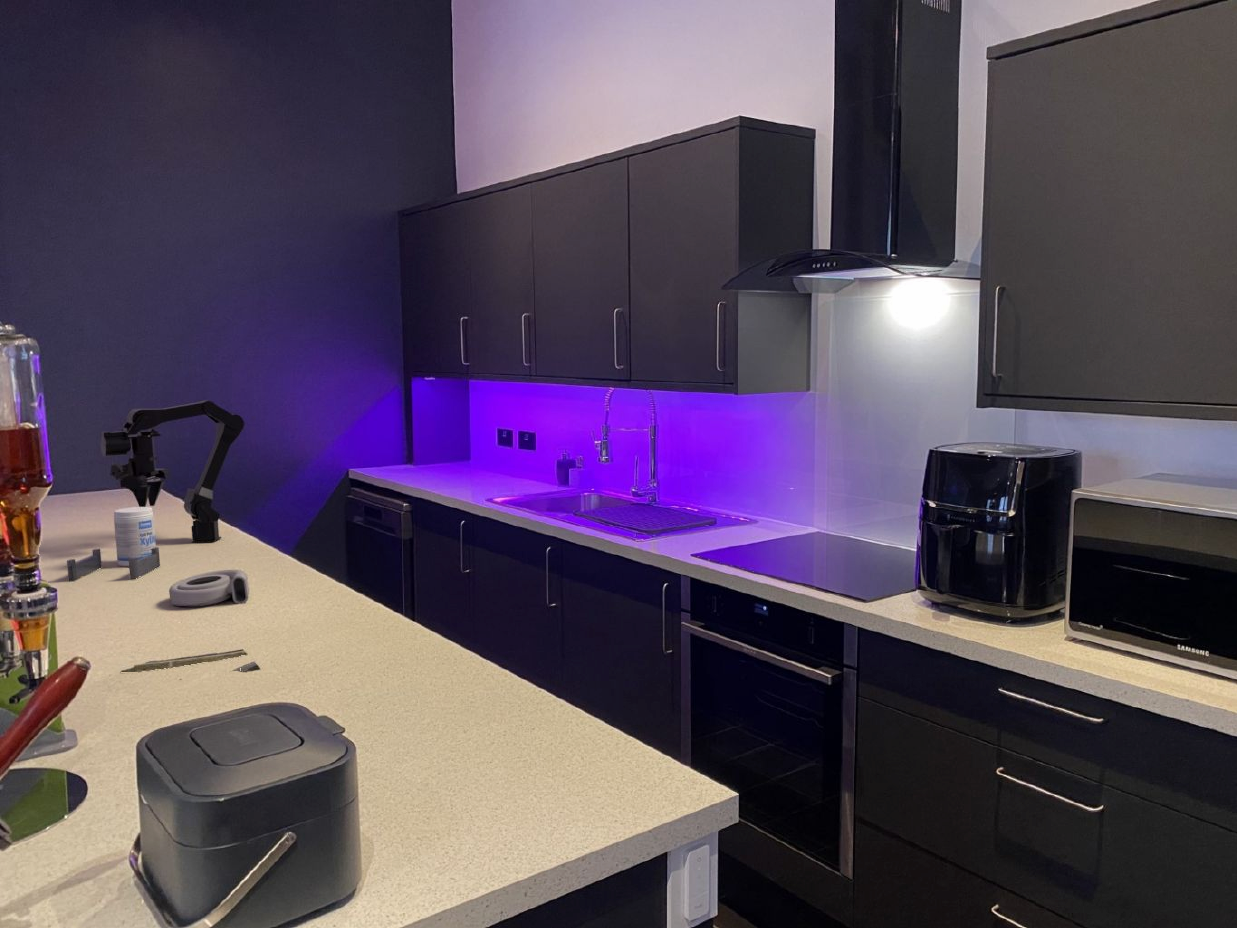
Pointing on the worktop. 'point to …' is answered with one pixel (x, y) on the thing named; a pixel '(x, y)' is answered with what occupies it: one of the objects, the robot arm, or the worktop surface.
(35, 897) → the worktop surface
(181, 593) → the turbocharger housing
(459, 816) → the worktop surface
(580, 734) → the worktop surface
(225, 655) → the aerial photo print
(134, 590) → the worktop surface
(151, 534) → the supplement tub
